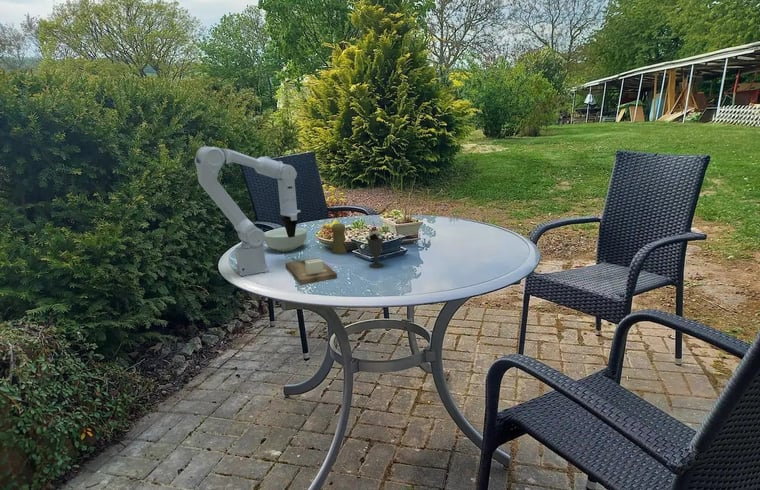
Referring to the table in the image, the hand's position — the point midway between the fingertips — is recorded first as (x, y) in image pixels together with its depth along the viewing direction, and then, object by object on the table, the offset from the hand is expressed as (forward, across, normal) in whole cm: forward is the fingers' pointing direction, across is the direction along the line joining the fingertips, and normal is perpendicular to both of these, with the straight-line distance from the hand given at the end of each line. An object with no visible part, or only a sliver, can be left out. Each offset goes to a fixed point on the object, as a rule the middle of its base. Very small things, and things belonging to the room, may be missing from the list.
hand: (291, 236), depth 159 cm
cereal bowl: (+10, +19, -2) cm, 22 cm away
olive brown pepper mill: (+10, +4, -19) cm, 22 cm away
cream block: (+8, -20, -2) cm, 22 cm away
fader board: (+9, -15, -2) cm, 17 cm away
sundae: (+10, -19, -24) cm, 32 cm away
